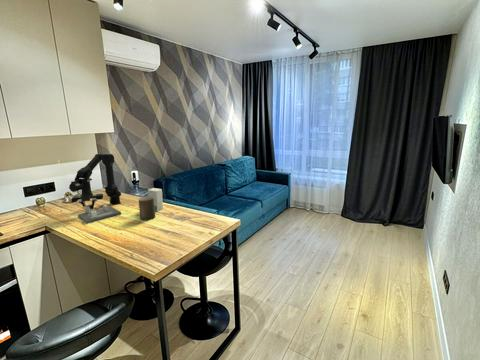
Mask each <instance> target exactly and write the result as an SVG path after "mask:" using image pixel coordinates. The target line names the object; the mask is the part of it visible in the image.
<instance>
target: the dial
mask: <svg viewBox="0 0 480 360" xmlns="http://www.w3.org/2000/svg"><path fill="white" fill-rule="evenodd" d="M83 209H84V213H85V214H89V213H91V212H92V211H94V210H95V208H93V209H92V203H88V204H85V206H84V207H83Z"/></svg>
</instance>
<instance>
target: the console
mask: <svg viewBox="0 0 480 360" xmlns="http://www.w3.org/2000/svg"><path fill="white" fill-rule="evenodd" d="M94 211H96V213H97V217H94V218H93V217H92V216H91V213H89V214H85V212H81V213H77V218H78V219H79V220H81V221H82V222H84V223H85V224H86V225H88V224H92V223H95V222H99V221H102V220H106V219H110V218H113V217H116V216H117V215H118V216H120V215H122V211H120V210H119V209H116V208H114V207H113V206H108V211H104V210H103V207H102V208H98V209H94ZM118 216H117V217H118Z"/></svg>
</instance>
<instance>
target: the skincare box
mask: <svg viewBox="0 0 480 360" xmlns="http://www.w3.org/2000/svg"><path fill="white" fill-rule="evenodd" d="M148 196H149V197H153V198H154V207H155V212H160V211H162V210H163V209H164V205H163V189H162V188H156V187H152V188H149V189H147V197H148Z"/></svg>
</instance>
